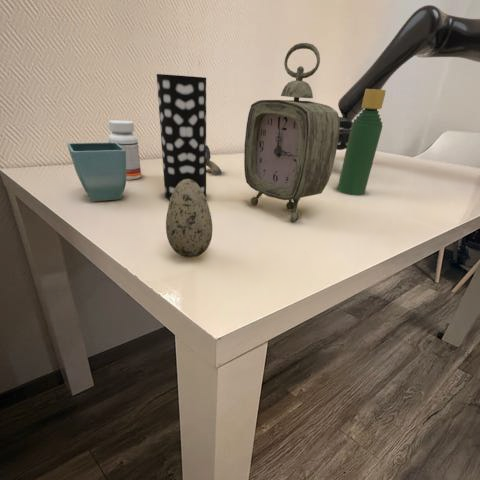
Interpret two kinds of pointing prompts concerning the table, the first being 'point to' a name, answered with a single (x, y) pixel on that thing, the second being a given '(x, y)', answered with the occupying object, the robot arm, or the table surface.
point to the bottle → (360, 152)
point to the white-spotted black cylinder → (182, 129)
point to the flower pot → (100, 169)
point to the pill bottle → (126, 146)
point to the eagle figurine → (212, 163)
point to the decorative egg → (188, 220)
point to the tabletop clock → (291, 142)
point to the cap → (373, 98)
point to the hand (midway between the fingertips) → (352, 141)
